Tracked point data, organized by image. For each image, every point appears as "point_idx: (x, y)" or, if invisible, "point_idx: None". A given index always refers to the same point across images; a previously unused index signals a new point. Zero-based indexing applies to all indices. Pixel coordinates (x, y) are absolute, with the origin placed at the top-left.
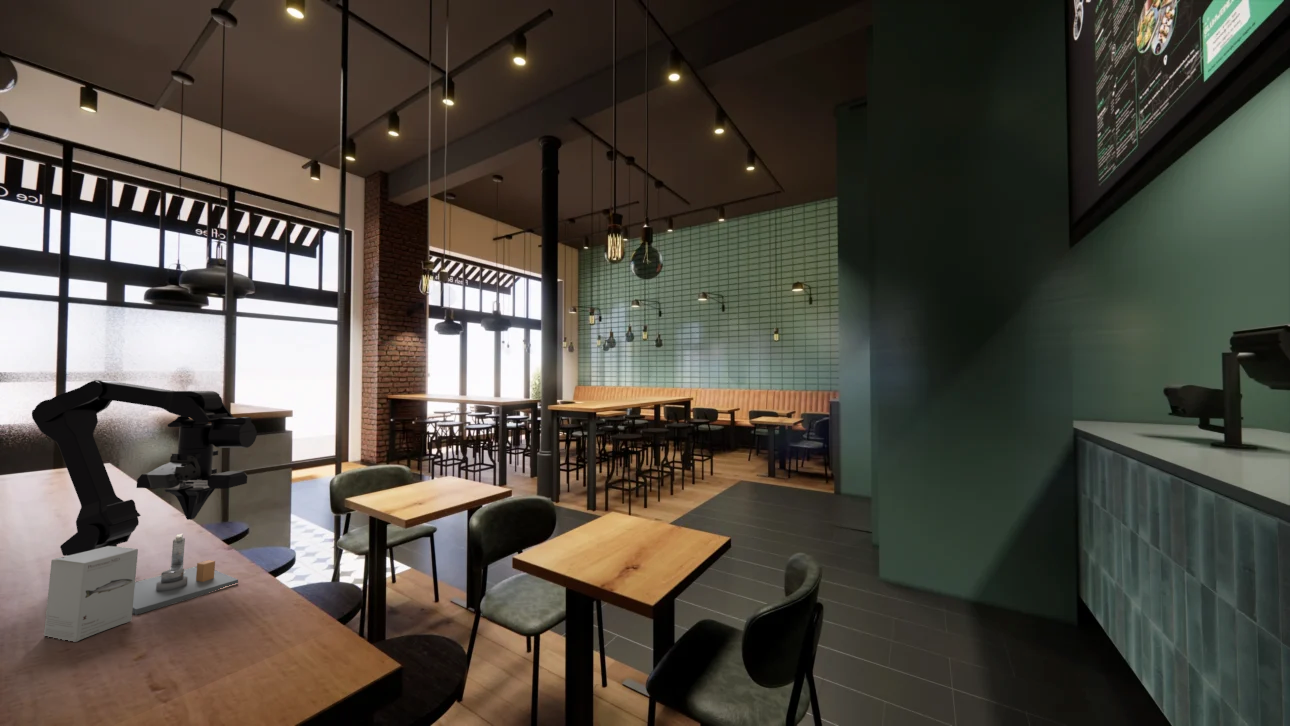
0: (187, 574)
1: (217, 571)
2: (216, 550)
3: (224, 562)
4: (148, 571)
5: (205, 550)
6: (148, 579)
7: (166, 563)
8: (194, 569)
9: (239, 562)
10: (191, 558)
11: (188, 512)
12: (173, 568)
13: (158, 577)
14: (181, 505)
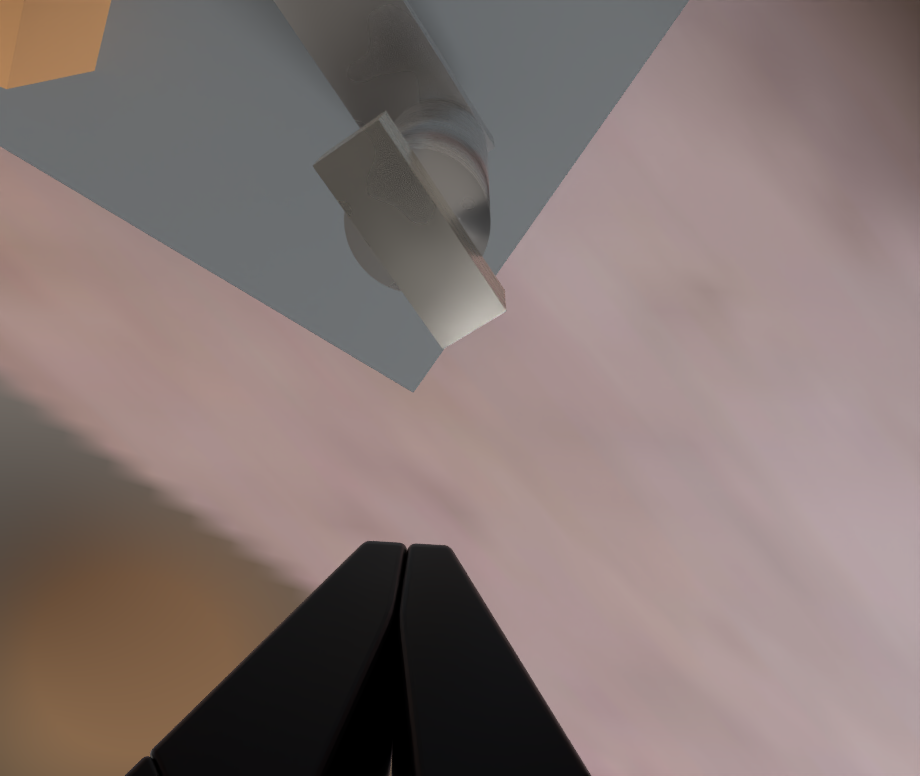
0: None
1: (122, 213)
2: (633, 762)
3: (359, 521)
4: (859, 361)
5: (720, 767)
6: (632, 28)
7: (834, 529)
8: None
9: (230, 513)
10: (706, 620)
11: (378, 625)
12: (365, 7)
13: (575, 82)
14: (566, 772)
